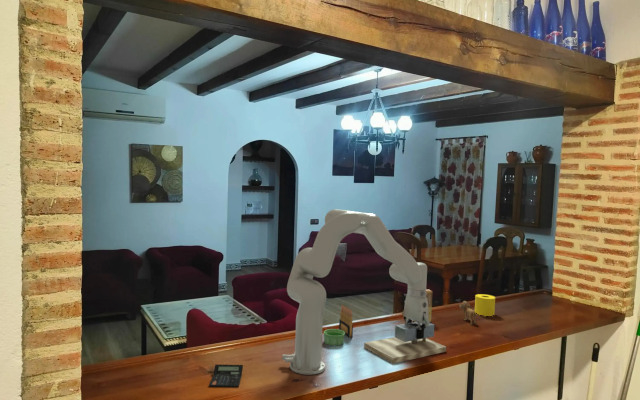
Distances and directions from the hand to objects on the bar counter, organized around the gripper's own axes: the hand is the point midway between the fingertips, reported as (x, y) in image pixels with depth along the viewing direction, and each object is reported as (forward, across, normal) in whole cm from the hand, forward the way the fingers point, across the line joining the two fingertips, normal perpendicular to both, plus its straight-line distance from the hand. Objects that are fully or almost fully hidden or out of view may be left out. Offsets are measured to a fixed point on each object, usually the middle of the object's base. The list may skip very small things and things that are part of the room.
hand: (414, 335), depth 186 cm
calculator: (+6, +5, +79) cm, 79 cm away
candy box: (+5, +27, -30) cm, 41 cm away
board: (+5, 0, +5) cm, 7 cm away
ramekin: (+5, +20, +27) cm, 34 cm away
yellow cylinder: (+5, +22, -71) cm, 75 cm away
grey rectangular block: (+1, 0, 0) cm, 1 cm away
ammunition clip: (+5, +27, +16) cm, 32 cm away
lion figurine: (+5, +16, -52) cm, 55 cm away
